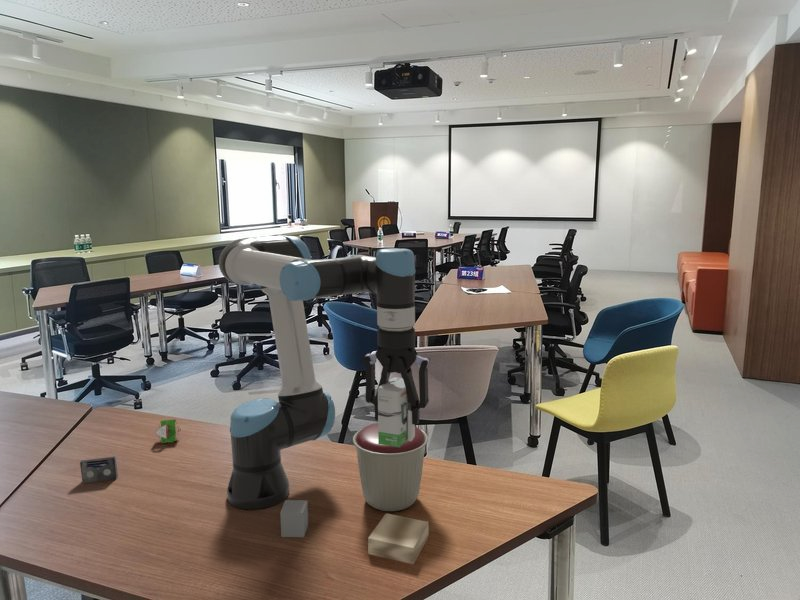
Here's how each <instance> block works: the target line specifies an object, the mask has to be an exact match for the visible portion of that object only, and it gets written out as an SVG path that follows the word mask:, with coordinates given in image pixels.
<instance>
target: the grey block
mask: <svg viewBox="0 0 800 600" xmlns="http://www.w3.org/2000/svg"><path fill="white" fill-rule="evenodd" d="M308 507H309V505H308V500H306V499H305V500H303V499H300V500H299V499H297V500H296V499H294V500H293V499H286V500H285V499H284V503H283V505H282V508H281V510H280V514H279V515H280V533H281V534H280V535H281V538H305V535H306V532H307V529H308V526H309V511H308V510H309V508H308Z"/></svg>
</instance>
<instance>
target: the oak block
mask: <svg viewBox="0 0 800 600" xmlns="http://www.w3.org/2000/svg"><path fill="white" fill-rule="evenodd" d="M429 523H430V522H429V521H426V520H421V519H416V518H412V517H406V516H403V515H402V516H401V515H396V514H391V513H386V512H385V514H384V516H383V517H382V518H381V519H380V520H379V522H378V524H376V527H375V528H374V529H373V530H372V532H371V533H370V534H369V536H368V538H367V546H368V547H367V548H368V549H367V551H368V552H367V553H368V554H367V555H372V556H376V557H381V558H383V559H388V560H393V561H397V562H402V563H406V564H411V565H414V564H415V562H416V561H417V559H418V558H419V555H420V553H421V551H422V550H423V548H424V546H425V545H426V543H427V541H428V539H429V526H430V525H429Z"/></svg>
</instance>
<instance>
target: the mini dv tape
mask: <svg viewBox="0 0 800 600" xmlns="http://www.w3.org/2000/svg"><path fill="white" fill-rule="evenodd" d="M117 465H118V463H117V457H116V456H109V457H98V458H92V459H91V458H90V459H82V460H80V461H79V466H80V473H81V474H80V475H81V480H82V481H81V483H82V484H85V483H94V482H95V483H97V482H103V481H111V480H113V481H114V480H118V475H119V474H118V466H117Z"/></svg>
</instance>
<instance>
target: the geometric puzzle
mask: <svg viewBox="0 0 800 600" xmlns="http://www.w3.org/2000/svg"><path fill="white" fill-rule="evenodd" d="M159 423H160V425H158V426H159V428H158V429H156V431H155V435H156V436H158V437H159V438H160V439H159V441H160V443H161V444H167V442H168V443H173V442H172V441H176V442H177V437H178V436H179V435H178V434H179V433H180V429H181V428H180V426H179V424H178V422H177V420H176V419H167V420H160V422H159ZM176 436H177V437H176Z"/></svg>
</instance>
